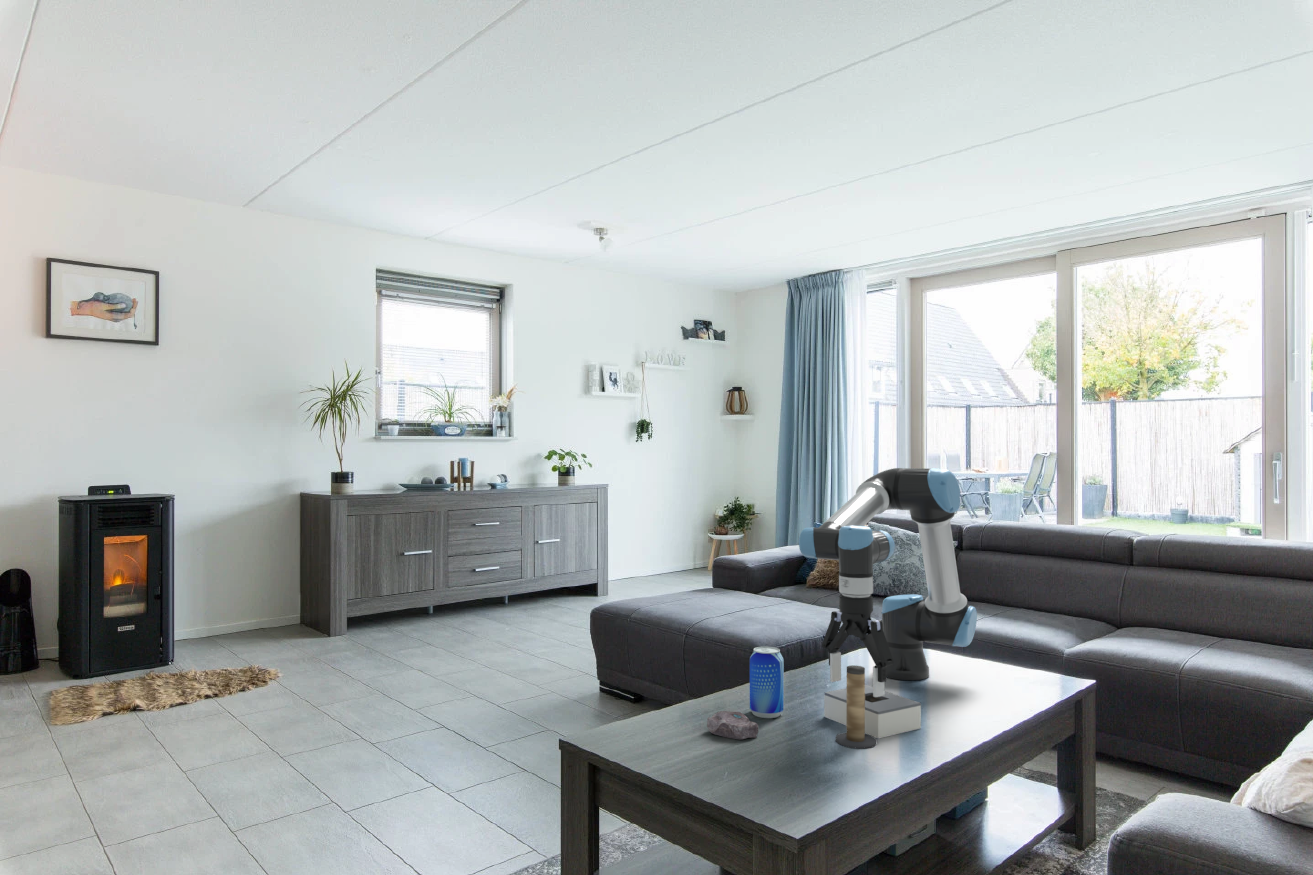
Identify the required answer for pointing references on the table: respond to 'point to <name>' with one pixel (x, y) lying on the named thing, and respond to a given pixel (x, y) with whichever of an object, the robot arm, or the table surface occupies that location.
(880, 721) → the box
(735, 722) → the rock
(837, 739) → the pad
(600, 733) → the table surface
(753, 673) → the beer can
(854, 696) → the stylus
